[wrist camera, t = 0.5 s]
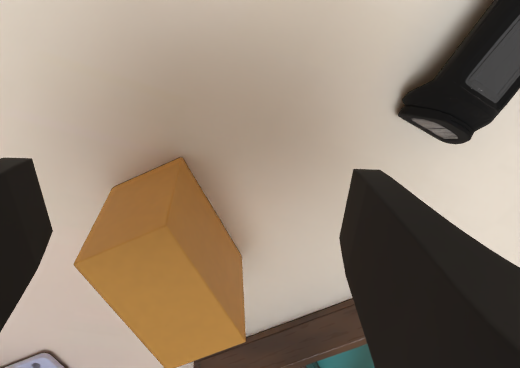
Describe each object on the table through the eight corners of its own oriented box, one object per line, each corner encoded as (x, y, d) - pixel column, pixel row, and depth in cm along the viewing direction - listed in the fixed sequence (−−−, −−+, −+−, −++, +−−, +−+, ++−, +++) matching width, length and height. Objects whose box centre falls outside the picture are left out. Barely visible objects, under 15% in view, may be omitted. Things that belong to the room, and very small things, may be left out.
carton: (180, 281, 24) (167, 371, 19) (112, 187, 21) (72, 264, 15) (242, 256, 23) (246, 342, 18) (182, 156, 20) (165, 225, 15)
